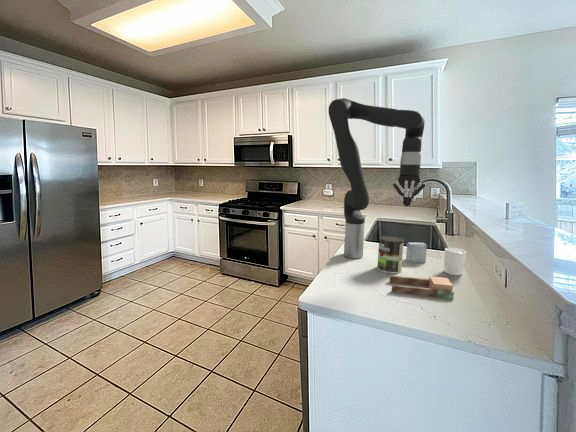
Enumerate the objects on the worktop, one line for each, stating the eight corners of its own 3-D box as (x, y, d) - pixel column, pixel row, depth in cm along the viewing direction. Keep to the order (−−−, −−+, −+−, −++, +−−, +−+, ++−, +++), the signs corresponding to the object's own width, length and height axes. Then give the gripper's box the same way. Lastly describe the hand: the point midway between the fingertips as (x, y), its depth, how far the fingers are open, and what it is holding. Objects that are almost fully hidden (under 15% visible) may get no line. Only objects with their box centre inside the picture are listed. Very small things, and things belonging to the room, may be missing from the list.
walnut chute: (391, 292, 104) (392, 285, 103) (389, 281, 113) (389, 275, 113) (453, 299, 99) (454, 292, 98) (445, 286, 108) (446, 280, 108)
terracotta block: (432, 294, 102) (434, 283, 101) (428, 286, 108) (429, 276, 108) (451, 296, 100) (452, 285, 99) (446, 288, 107) (447, 278, 106)
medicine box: (422, 259, 139) (423, 242, 138) (425, 262, 135) (427, 245, 133) (405, 259, 140) (406, 242, 138) (408, 262, 135) (409, 244, 134)
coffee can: (388, 275, 120) (390, 242, 117) (372, 267, 129) (373, 236, 126) (407, 271, 124) (409, 240, 121) (390, 264, 133) (392, 234, 130)
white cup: (438, 269, 126) (440, 247, 124) (455, 269, 127) (458, 247, 125) (450, 276, 118) (452, 253, 117) (468, 275, 119) (470, 252, 117)
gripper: (394, 163, 114) (391, 206, 117) (430, 163, 111) (425, 208, 114) (391, 163, 121) (388, 204, 124) (425, 164, 118) (421, 205, 121)
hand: (406, 206), depth 119 cm, fingers closed
